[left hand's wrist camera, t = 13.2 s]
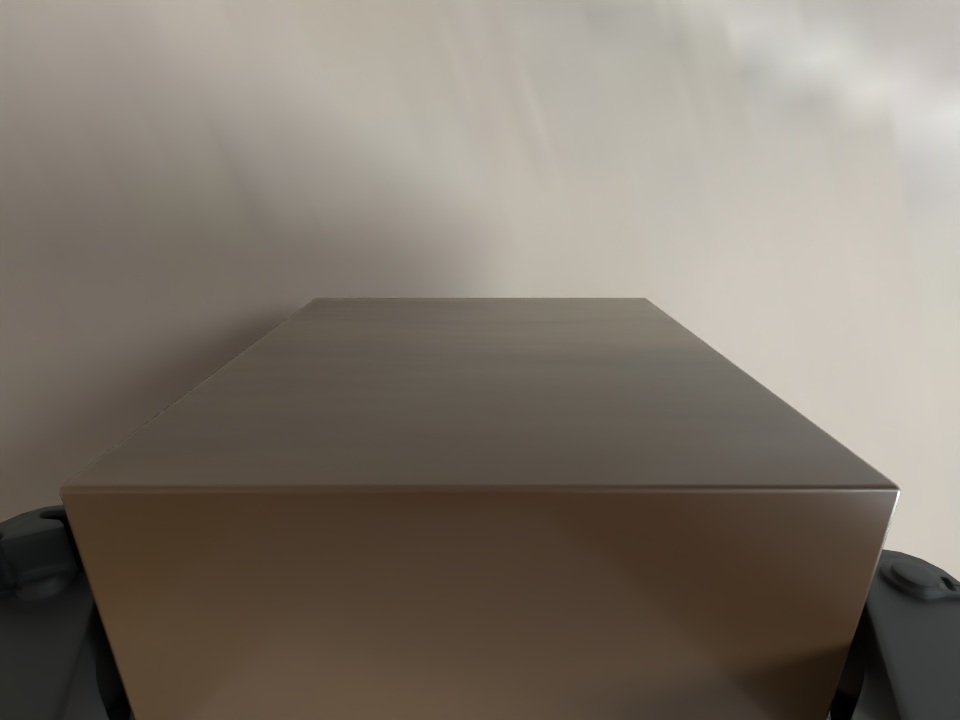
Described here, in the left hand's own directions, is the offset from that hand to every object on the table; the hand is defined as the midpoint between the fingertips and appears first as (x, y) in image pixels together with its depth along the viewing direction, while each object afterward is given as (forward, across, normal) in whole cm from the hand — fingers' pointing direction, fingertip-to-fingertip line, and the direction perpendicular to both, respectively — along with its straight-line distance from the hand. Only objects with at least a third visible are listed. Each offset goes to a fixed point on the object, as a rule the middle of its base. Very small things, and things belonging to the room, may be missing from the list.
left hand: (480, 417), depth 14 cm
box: (+1, 0, -8) cm, 8 cm away
